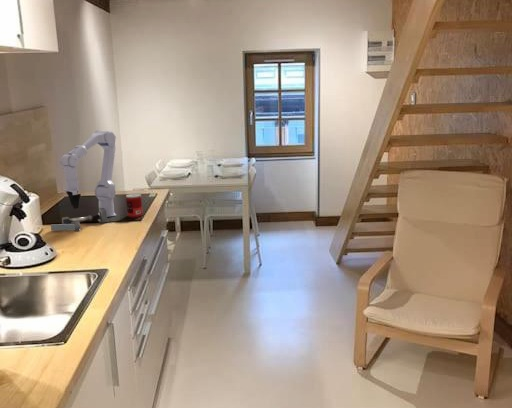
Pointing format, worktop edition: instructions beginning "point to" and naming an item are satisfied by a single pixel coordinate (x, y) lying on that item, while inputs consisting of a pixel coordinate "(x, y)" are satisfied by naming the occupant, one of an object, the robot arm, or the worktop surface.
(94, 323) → the worktop surface
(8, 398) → the worktop surface
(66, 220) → the hook rod
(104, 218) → the eye bracket
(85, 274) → the worktop surface
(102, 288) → the worktop surface
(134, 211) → the canned food
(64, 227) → the grey lever bar
